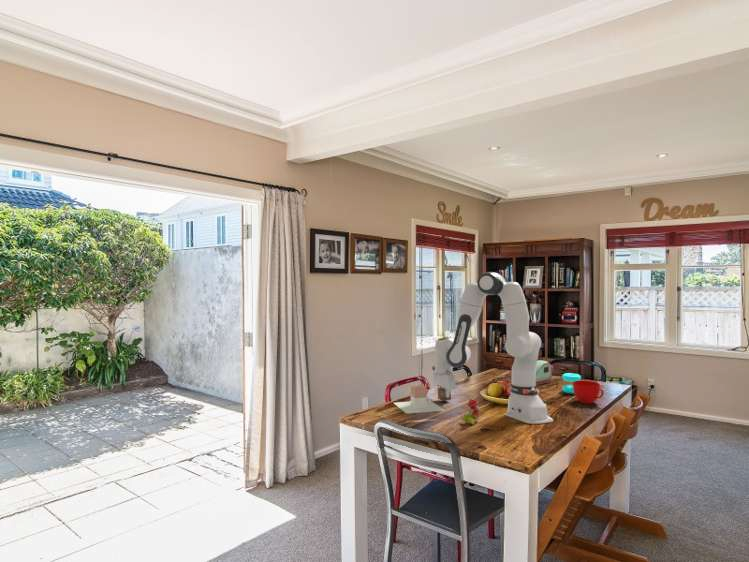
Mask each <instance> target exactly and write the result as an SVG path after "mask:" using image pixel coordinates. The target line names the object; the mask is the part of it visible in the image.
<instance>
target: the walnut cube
mask: <svg viewBox="0 0 749 562" xmlns="http://www.w3.org/2000/svg"><path fill="white" fill-rule="evenodd" d="M445 393H446V390H445V388H442V389H439V388H437V399H438V400H440V401H443V402H445V401H452V390H451V391H450V393H449V397H445Z"/></svg>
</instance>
